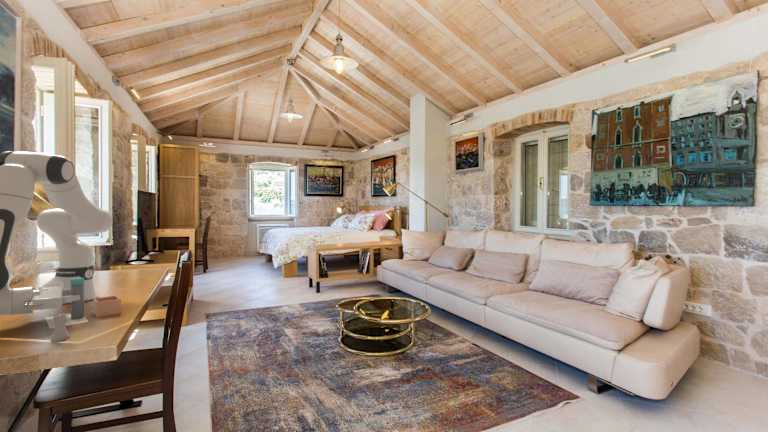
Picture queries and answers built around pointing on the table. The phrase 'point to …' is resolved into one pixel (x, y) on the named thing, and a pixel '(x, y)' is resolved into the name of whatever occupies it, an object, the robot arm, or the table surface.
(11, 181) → the robot arm
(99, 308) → the pen cup
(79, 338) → the table surface
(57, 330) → the rook chess piece
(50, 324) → the drawing board
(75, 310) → the marker
